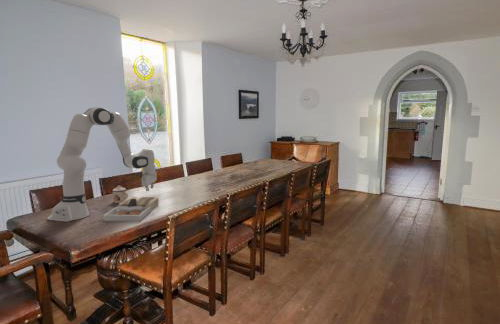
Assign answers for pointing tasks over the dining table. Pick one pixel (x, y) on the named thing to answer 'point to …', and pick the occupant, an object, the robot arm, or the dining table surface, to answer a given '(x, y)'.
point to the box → (114, 215)
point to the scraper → (130, 207)
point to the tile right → (135, 213)
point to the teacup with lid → (119, 194)
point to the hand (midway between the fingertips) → (149, 189)
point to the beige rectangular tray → (142, 201)
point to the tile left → (123, 213)
